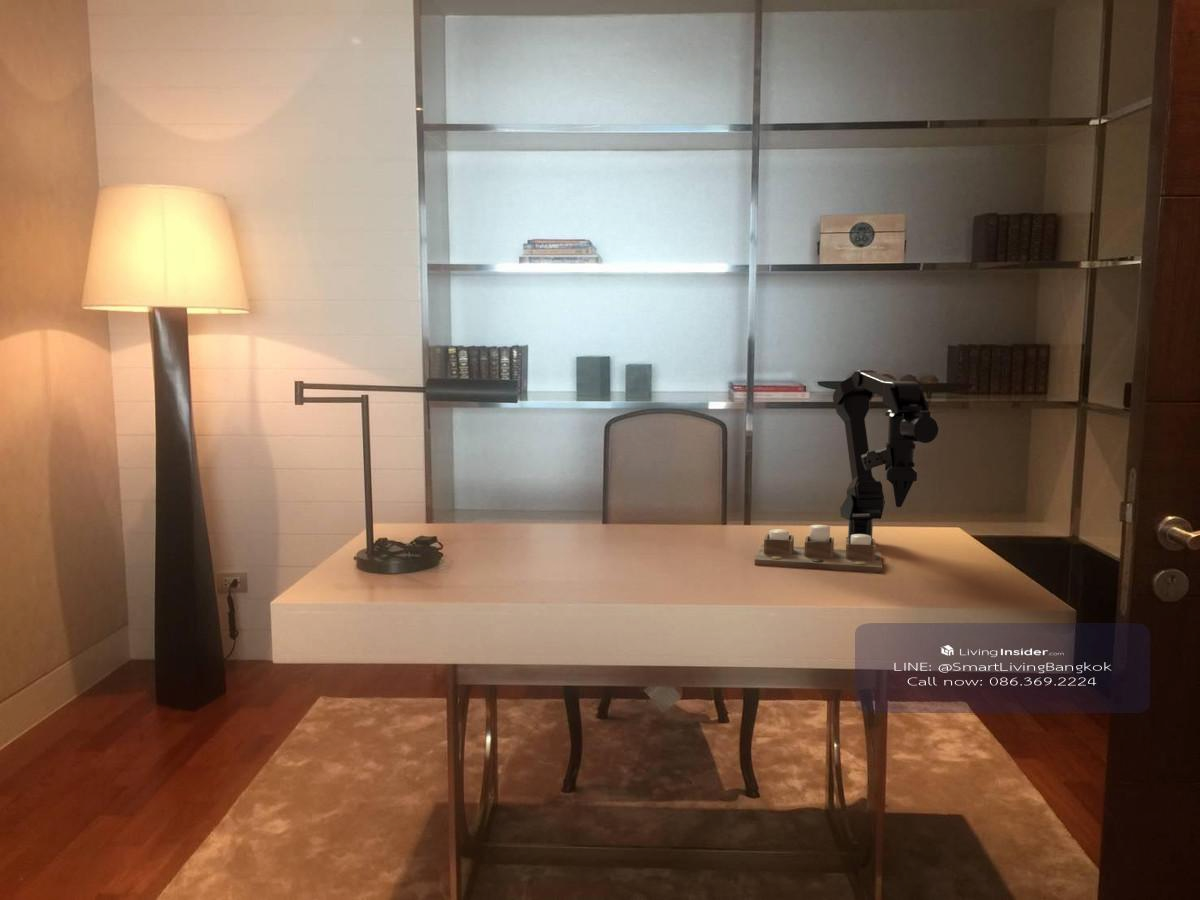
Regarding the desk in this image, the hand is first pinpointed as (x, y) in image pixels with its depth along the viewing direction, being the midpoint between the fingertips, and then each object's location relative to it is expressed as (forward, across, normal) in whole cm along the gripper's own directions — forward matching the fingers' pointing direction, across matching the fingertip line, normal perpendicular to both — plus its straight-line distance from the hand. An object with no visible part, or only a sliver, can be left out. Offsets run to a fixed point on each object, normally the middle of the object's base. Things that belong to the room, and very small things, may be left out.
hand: (898, 506), depth 212 cm
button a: (+10, +5, -8) cm, 14 cm away
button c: (+10, +5, -26) cm, 28 cm away
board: (+12, +6, -17) cm, 22 cm away
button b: (+9, +5, -17) cm, 20 cm away
